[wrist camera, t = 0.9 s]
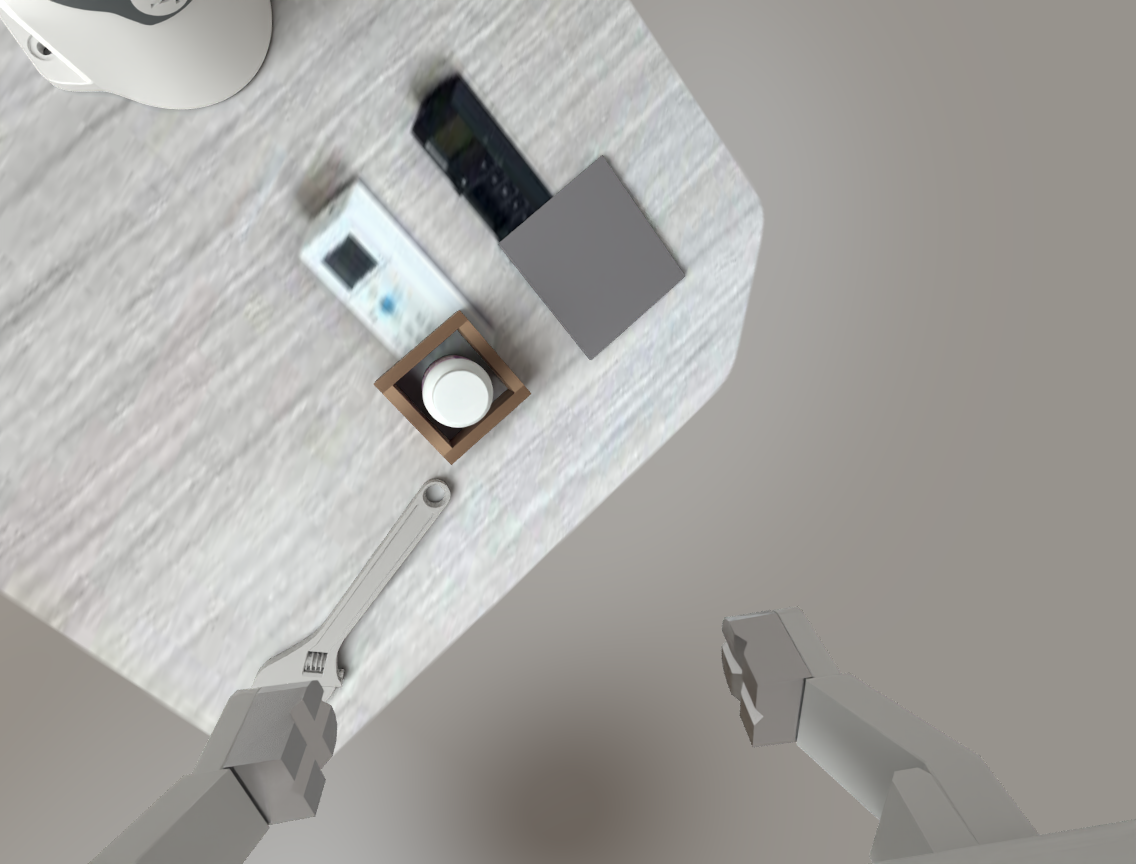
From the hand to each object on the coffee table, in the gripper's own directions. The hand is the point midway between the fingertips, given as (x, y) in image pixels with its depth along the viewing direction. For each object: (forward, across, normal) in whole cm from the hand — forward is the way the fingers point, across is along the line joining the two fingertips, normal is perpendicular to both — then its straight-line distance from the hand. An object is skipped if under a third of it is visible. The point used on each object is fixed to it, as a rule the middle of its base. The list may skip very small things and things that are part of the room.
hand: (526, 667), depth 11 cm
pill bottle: (+39, +7, +10) cm, 40 cm away
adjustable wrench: (+32, +18, +26) cm, 45 cm away
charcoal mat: (+44, -7, +2) cm, 45 cm away
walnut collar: (+38, +7, +10) cm, 40 cm away
